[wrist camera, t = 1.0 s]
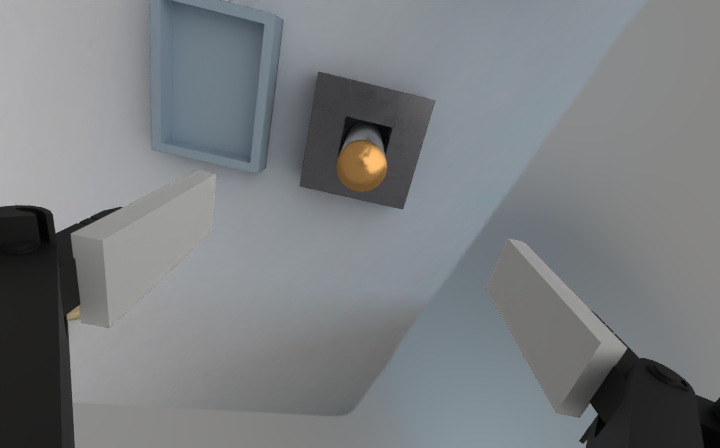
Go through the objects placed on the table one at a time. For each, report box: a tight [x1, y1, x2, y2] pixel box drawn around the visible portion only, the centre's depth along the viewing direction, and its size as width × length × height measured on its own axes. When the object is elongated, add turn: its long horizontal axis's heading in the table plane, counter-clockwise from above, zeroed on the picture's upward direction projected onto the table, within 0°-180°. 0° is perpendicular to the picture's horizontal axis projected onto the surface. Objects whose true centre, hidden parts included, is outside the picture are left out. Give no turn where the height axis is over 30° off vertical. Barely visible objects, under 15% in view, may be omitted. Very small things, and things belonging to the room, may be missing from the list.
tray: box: [150, 0, 283, 174], centre depth 36 cm, size 16×12×3 cm
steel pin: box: [337, 122, 387, 192], centre depth 33 cm, size 4×4×14 cm
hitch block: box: [300, 72, 435, 209], centre depth 38 cm, size 12×12×4 cm
